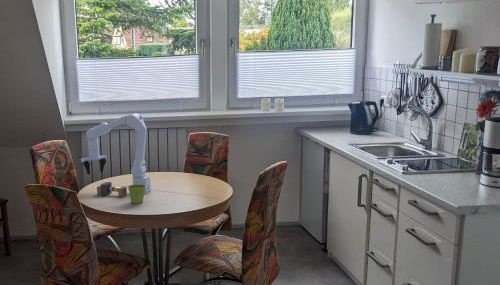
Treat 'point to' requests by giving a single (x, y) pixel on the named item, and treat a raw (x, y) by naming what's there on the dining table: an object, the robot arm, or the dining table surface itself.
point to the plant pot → (136, 193)
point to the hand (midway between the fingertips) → (95, 173)
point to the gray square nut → (105, 188)
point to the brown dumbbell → (114, 190)
